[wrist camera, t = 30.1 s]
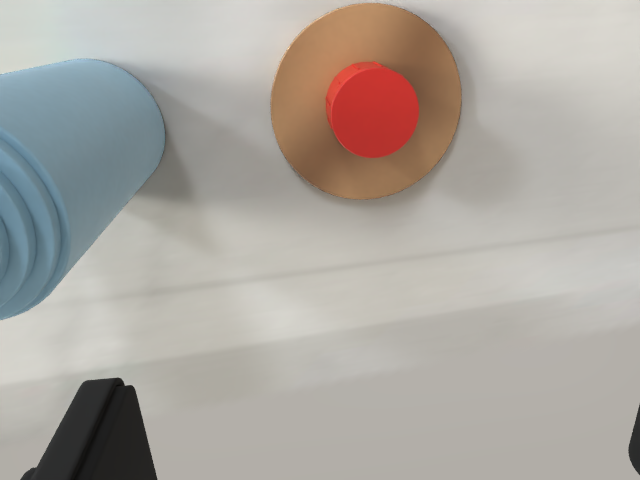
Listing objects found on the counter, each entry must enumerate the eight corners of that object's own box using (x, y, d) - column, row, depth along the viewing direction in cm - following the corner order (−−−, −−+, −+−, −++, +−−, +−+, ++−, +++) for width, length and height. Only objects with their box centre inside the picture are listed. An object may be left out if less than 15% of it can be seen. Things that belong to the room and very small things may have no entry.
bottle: (13, 162, 27) (-418, 393, 10) (44, 33, 24) (-452, 67, 8) (142, 212, 28) (-54, 480, 12) (183, 95, 26) (8, 229, 10)
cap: (418, 82, 26) (435, 91, 23) (381, 154, 27) (393, 171, 24) (346, 47, 25) (354, 51, 22) (312, 123, 26) (316, 137, 23)
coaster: (239, 148, 27) (239, 151, 27) (325, -38, 24) (326, -39, 23) (397, 223, 30) (399, 227, 29) (495, 64, 26) (499, 65, 26)
